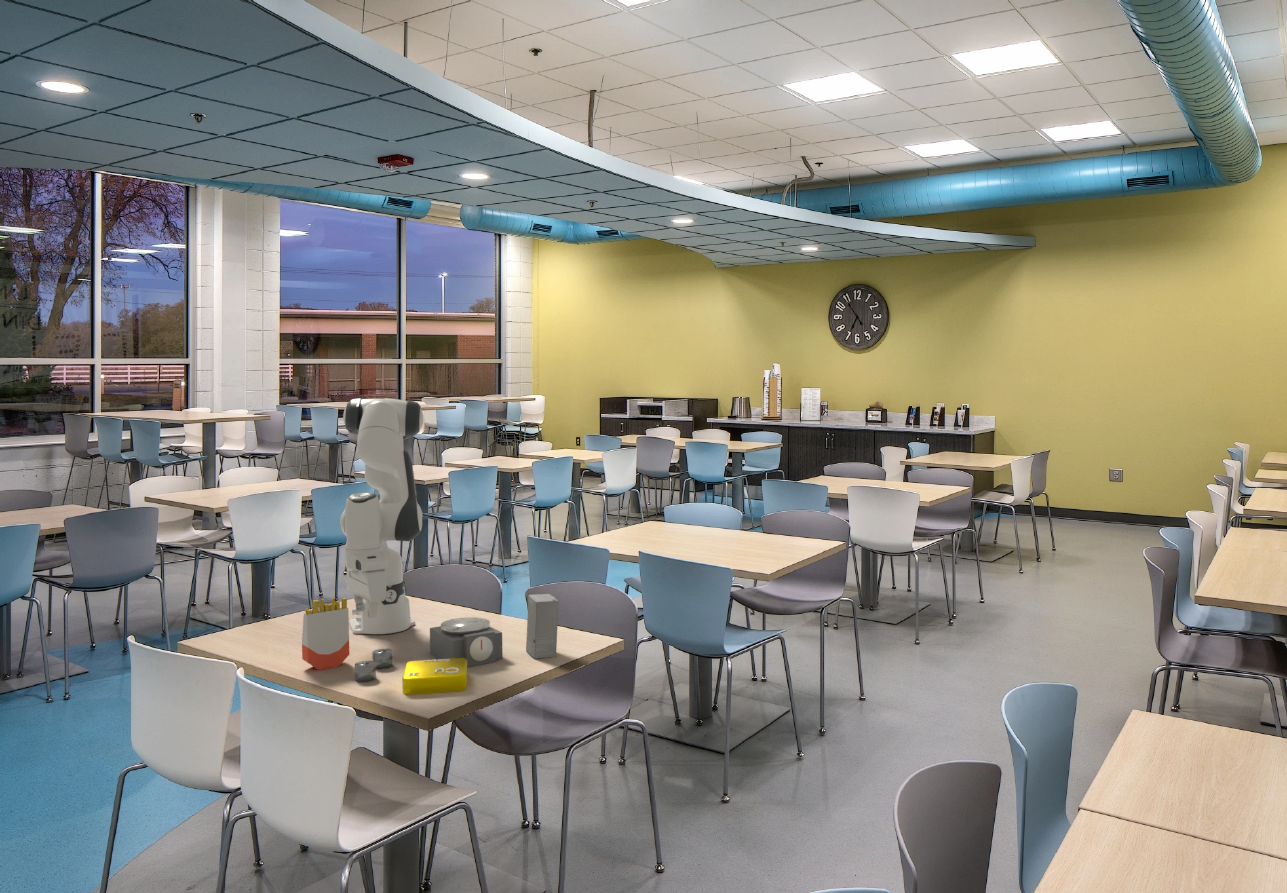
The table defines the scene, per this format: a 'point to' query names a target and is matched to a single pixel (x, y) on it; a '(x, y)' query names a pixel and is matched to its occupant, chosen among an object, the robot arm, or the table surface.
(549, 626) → the skincare box
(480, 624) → the scale pan
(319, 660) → the french fries container
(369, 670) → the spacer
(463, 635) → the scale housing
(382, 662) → the spacer
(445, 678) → the element tile
